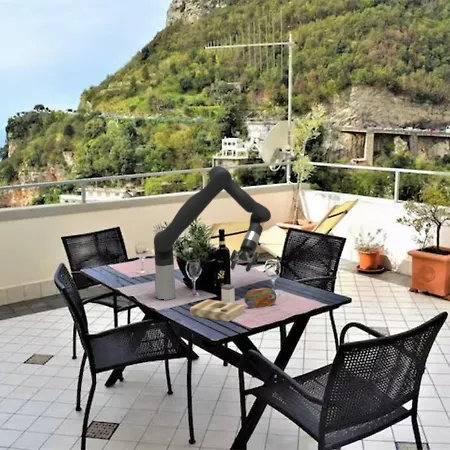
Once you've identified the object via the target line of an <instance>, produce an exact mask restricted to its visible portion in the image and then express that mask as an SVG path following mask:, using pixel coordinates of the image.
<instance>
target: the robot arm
mask: <svg viewBox="0 0 450 450" xmlns="http://www.w3.org/2000/svg"><path fill="white" fill-rule="evenodd" d="M208 176H209V177H208V178H209V181H208V183H207V184H206V185H205V186H204V187H203V188H202V189H201V190H200V191H198V192H196V193H194V194H193V195H191V196H190V197H189V198H188V199H187V200H186V201H185V202H184V203H183V204H182V206H180V208H179V210H178V211H177V213H176V214H175V216H174V217H173V219H172V220H171V222H169V224H168V225H167V226H166V227H165V228H164V229H163V230H161V231H158V232H157V233H156V234H155V235H154V238H153V249H154V251H153V252H154V264H155V265H154V267H155V279H154V294H155V298H156V297H157V298H158V299H157V298H156V299H157V300H159V299H164V300H163V301H169V299H170V300H174V299H175V298H176V296H177V295H176V294H177V293H176V278H175V276H176V275H175V260H174V259H175V258H174V244H175V243H176V241H177V240H178V238H180V236H181V235H182V234H183V233H184V231H186V230H187V229H188V228H189V227H190V226H191V224H193V222H195V221H196V220H197V219H198V217H199V216H200V215H201V214H202V213H203V212H204V211H205V209H206V208H207V207H208V206H209V205H210V204H211V202H213V200H214V199H215V198H216V197H217V196H218V195H219V194H220V193H221V192H222V191H223V190H224V191H225V192H226V193H227V194H229V196H230V197H232V199H233V200H234V201H235V202H236V203H237V204H238V205H239V206H240V207H241V208H242V209H243V210H244V211H245V212H246V213H248V214H250V217H249V226H248V229H247V232H246V233H245V235H244V237H243V240H242V242H241V245H240V249H239V250H236V249H233V251H232V252H231V255H230V257H229V260H230V265H229V268H230V270H231V271H234V270H235V268H236V264H237V263H239V262H240V261H246V262H247V261H248V262H247V265H246V267H245V271H246V272H247V273H249V271H251V269H252V266H253V265H257V264H258V260H259V257H260V254H259V253H258V252H257V251H256V250H257V248H258V247H257V246H258V245H259V242H260V238H261V236H262V233H263V229H264V228H263V226H262V224H263V223H267V222H269V221H271V218H272V214H271V211H270V210H269V209H268V208H267V207H266V206H265V205H263V204H261V203H260V202H258V201H256V200H255V199H254V198H253V197H252V196H251V195H250V194H249V193H248V192H246V191H245V190H244V189H243V188H241V187H240V186H239V185H238V184H237V183H236V182H235V181H234V180H233V179H232V175H231V172H230V171H229V170H228V169H226V168H225V167H224V166H221V165H215V166H213V167H211V169H210V170H209V173H208Z"/></svg>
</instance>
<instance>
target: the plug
mask: <svg viewBox="0 0 450 450" xmlns="http://www.w3.org/2000/svg"><path fill="white" fill-rule="evenodd" d="M220 288H221V290H220V291H221V301H222V302H229V303H235V304H236V301H235V300H236V298H235V297H236V296H235V295H236V294H235V285H234V284H227V283H226V284H224V285H221V286H220Z"/></svg>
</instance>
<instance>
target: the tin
mask: <svg viewBox="0 0 450 450" xmlns="http://www.w3.org/2000/svg"><path fill="white" fill-rule="evenodd" d="M276 293H277V292H275V290H274V289H272V288H269V287H265V288H263V287H262V288H255V289H250V290H248V291H247V292H246V293H245V295H244V298H243V299H244V303H245V304H246V305H247V307H248V308H250V309H259V308H265V307H271V306H272V305H274V304H275V302H276V300H277V294H276Z"/></svg>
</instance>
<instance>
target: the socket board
mask: <svg viewBox="0 0 450 450" xmlns="http://www.w3.org/2000/svg"><path fill="white" fill-rule="evenodd" d="M245 310H246V309H245V304H240V303H236V302H235V303H229V302H222V300H216V299H215V300H213V299H205V300H203V301H200V302H199V303H196V304H195V305H192V306H191V307H190V308H189V313H190V315H189V316H193V317H200V318H206V319H211V320H216V321H222V322H230V321H232V320H233V319H235V318H237V317H239V316H241V315H243V314H244V313H245V312H246V311H245Z"/></svg>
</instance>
